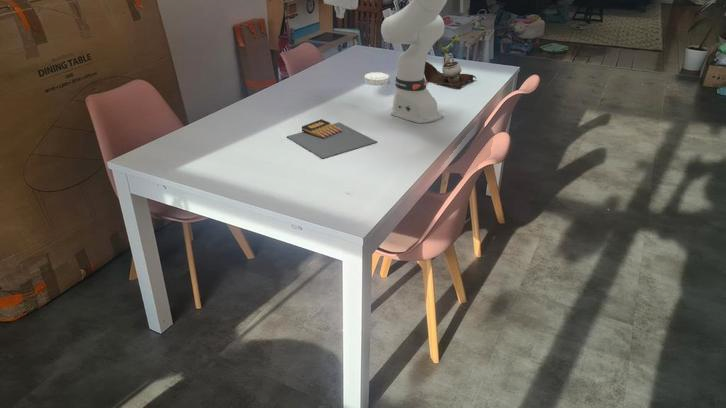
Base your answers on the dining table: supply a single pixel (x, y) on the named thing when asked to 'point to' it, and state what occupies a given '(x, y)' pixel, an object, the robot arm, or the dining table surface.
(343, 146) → the slate mat
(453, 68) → the potted plant
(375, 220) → the dining table surface
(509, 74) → the dining table surface
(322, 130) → the ammunition clip
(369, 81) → the mooncake
